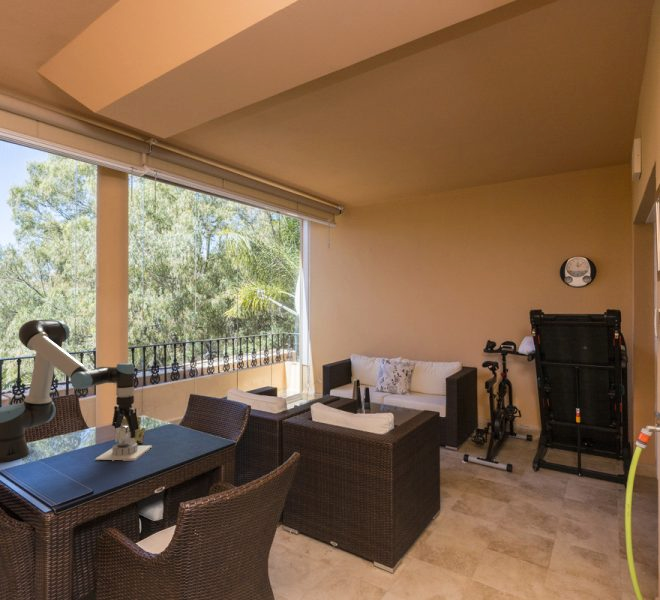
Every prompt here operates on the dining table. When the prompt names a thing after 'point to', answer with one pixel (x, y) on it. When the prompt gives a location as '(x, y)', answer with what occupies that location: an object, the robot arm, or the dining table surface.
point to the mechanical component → (140, 432)
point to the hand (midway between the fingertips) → (125, 443)
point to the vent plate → (126, 457)
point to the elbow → (124, 436)
